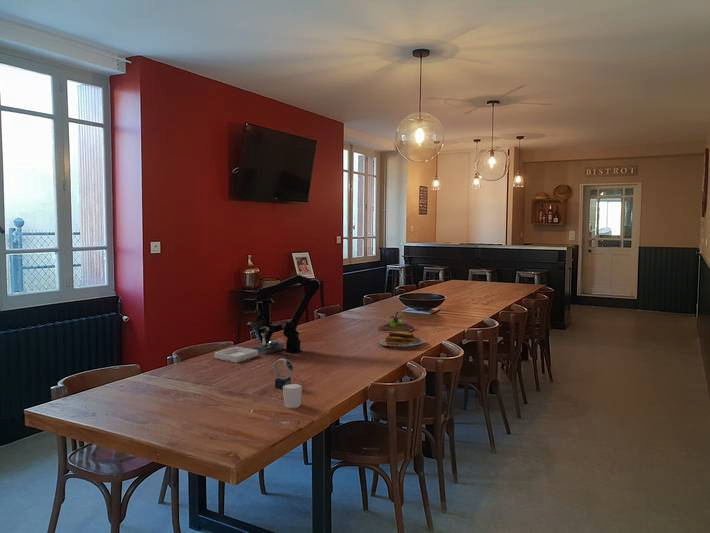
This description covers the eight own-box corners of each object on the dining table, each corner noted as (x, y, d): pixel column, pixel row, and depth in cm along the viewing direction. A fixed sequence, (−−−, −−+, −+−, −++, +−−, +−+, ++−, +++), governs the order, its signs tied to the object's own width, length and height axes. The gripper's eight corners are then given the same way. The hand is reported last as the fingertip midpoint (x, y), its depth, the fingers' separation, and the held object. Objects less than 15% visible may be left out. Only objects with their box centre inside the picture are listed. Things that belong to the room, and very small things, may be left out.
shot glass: (283, 402, 196) (283, 383, 195) (302, 401, 196) (302, 383, 196) (282, 408, 189) (282, 389, 188) (302, 408, 190) (301, 388, 189)
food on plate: (384, 352, 273) (384, 339, 273) (373, 341, 298) (373, 329, 297) (432, 349, 278) (432, 337, 277) (417, 339, 302) (417, 328, 302)
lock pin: (269, 351, 272) (269, 332, 272) (265, 353, 269) (265, 333, 269) (264, 350, 274) (264, 331, 274) (259, 352, 271) (259, 332, 270)
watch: (289, 389, 211) (289, 361, 210) (271, 387, 214) (270, 359, 213) (295, 385, 216) (295, 358, 216) (277, 383, 219) (277, 356, 218)
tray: (258, 356, 263) (258, 350, 263) (237, 363, 250) (237, 356, 250) (236, 352, 270) (235, 346, 270) (214, 358, 258) (214, 352, 258)
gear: (259, 340, 291) (253, 325, 296) (253, 346, 294) (247, 332, 299) (275, 340, 299) (269, 325, 304) (270, 346, 302) (264, 331, 307)
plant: (418, 329, 332) (418, 311, 331) (403, 335, 315) (404, 316, 314) (389, 326, 342) (389, 308, 341) (374, 331, 326) (374, 313, 325)
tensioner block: (283, 348, 278) (283, 340, 278) (265, 354, 266) (265, 346, 266) (271, 347, 282) (271, 339, 282) (253, 352, 271) (253, 344, 270)
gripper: (239, 313, 268) (239, 343, 269) (268, 316, 259) (268, 348, 260) (254, 309, 278) (254, 339, 279) (282, 313, 268) (283, 344, 269)
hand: (264, 343), depth 272 cm, fingers closed on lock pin, 3 cm apart
